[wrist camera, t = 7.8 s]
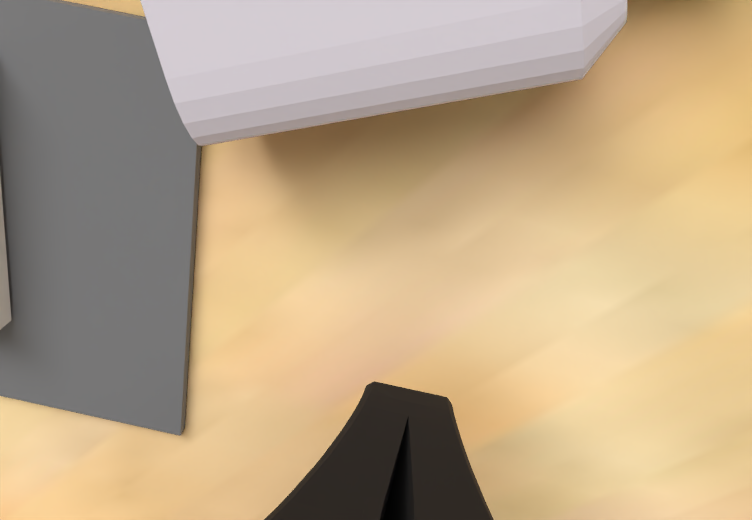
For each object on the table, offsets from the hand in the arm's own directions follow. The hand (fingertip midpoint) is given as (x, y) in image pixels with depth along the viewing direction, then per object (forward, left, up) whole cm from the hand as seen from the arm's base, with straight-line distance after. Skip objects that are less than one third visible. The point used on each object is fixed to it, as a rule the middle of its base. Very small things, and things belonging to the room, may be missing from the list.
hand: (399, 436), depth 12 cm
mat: (-3, +14, -10) cm, 17 cm away
